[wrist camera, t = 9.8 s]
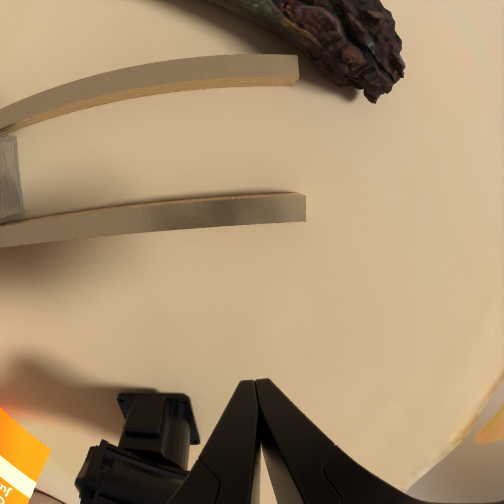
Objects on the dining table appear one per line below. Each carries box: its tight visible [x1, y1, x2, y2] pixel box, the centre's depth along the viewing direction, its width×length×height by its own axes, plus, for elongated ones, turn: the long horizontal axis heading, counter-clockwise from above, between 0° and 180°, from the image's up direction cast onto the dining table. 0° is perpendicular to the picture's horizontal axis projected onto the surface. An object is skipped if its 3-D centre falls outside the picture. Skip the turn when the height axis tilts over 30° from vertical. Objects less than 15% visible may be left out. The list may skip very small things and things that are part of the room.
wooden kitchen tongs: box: [0, 54, 306, 248], centre depth 13 cm, size 16×36×9 cm, turn 93°
